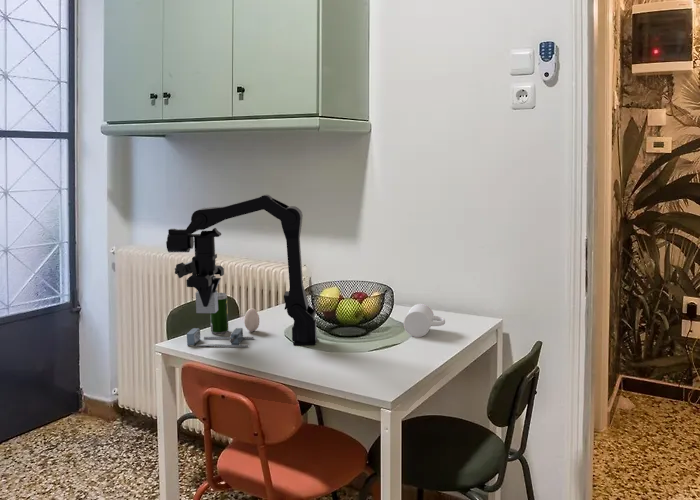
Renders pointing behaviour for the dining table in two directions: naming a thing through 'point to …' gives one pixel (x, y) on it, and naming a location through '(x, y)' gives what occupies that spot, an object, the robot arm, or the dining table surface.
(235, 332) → the block
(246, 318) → the egg
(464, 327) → the dining table surface
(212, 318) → the green soda can
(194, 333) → the vise bed
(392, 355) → the dining table surface
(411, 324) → the mug
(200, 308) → the steel block
